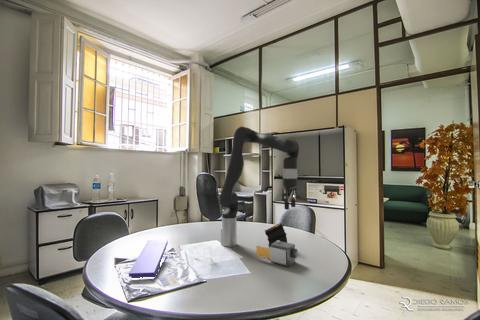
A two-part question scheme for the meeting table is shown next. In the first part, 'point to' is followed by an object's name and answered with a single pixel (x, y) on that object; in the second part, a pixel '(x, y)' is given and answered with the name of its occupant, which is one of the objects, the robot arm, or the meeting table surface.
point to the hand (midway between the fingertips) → (290, 208)
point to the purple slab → (149, 259)
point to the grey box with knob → (283, 245)
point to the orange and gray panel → (274, 254)
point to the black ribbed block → (276, 234)
